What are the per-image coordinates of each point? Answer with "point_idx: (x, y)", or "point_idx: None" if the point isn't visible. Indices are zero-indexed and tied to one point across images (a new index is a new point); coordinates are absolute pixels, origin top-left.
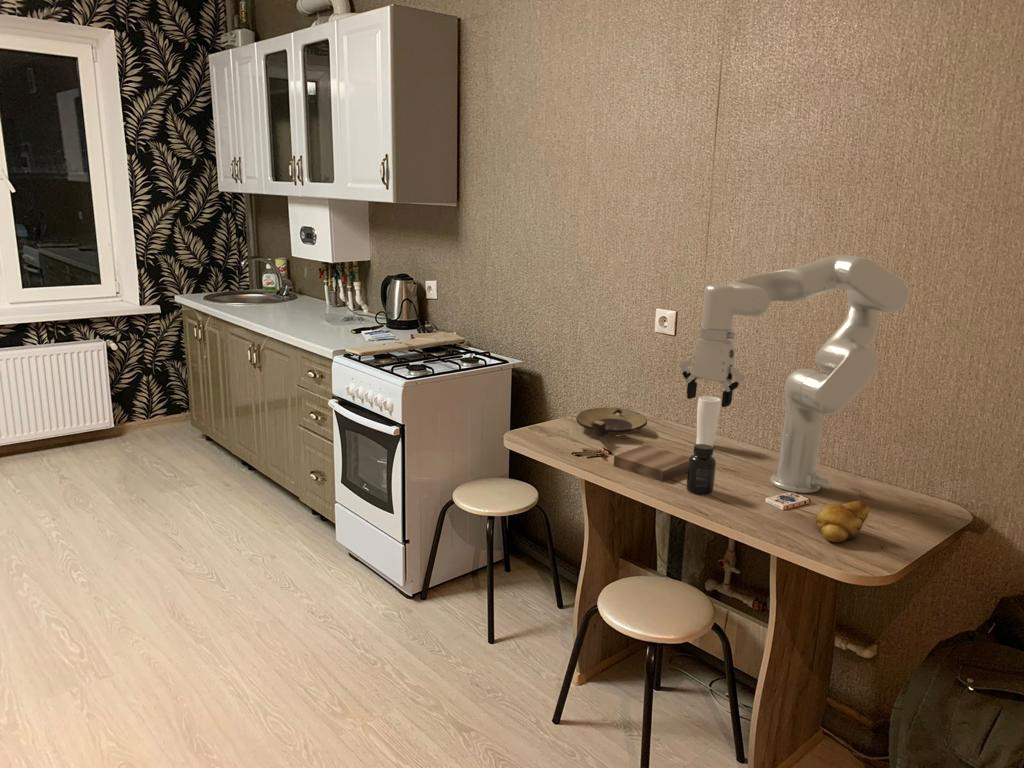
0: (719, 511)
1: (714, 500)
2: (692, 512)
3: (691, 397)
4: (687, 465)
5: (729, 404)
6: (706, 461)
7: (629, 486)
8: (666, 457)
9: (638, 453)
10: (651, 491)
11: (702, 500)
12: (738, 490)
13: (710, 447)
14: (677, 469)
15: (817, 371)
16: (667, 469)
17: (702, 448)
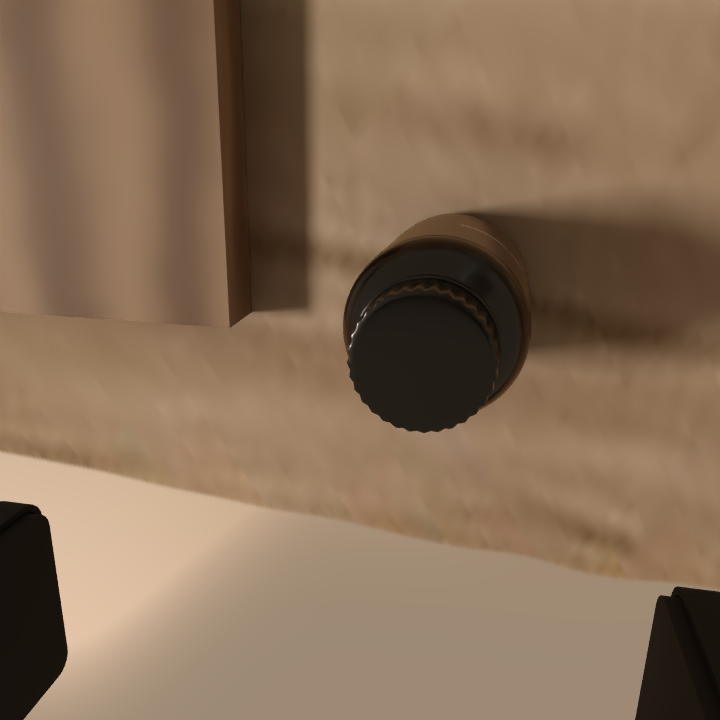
0: (660, 471)
1: (578, 356)
2: (560, 560)
3: (55, 632)
4: (227, 37)
5: (717, 606)
6: (492, 395)
7: (195, 475)
8: (95, 88)
9: None
10: (294, 462)
11: (530, 399)
12: (627, 98)
13: (474, 349)
14: (232, 164)
15: None
16: (228, 284)
17: (439, 420)
